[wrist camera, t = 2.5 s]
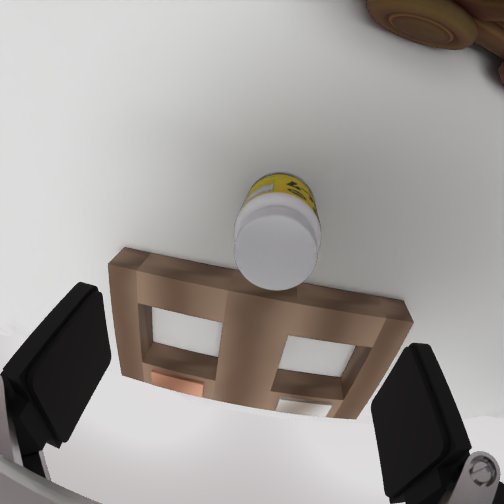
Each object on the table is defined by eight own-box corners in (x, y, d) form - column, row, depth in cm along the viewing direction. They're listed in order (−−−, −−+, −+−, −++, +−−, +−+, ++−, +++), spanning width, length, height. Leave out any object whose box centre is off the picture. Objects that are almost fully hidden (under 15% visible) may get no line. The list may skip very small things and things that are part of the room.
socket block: (403, 300, 25) (415, 325, 22) (352, 397, 31) (356, 422, 28) (124, 247, 26) (105, 266, 23) (132, 355, 31) (120, 377, 28)
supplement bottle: (326, 214, 23) (343, 271, 15) (271, 245, 24) (262, 312, 17) (290, 157, 21) (291, 187, 14) (234, 193, 23) (205, 240, 15)
